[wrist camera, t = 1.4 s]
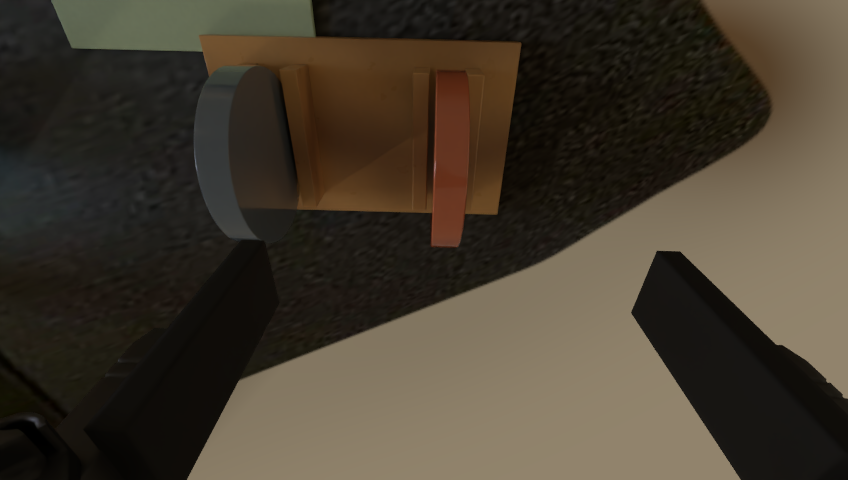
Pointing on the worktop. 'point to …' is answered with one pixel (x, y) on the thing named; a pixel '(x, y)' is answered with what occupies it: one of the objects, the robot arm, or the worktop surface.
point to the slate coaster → (246, 153)
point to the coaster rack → (380, 114)
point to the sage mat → (178, 21)
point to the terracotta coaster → (449, 157)
